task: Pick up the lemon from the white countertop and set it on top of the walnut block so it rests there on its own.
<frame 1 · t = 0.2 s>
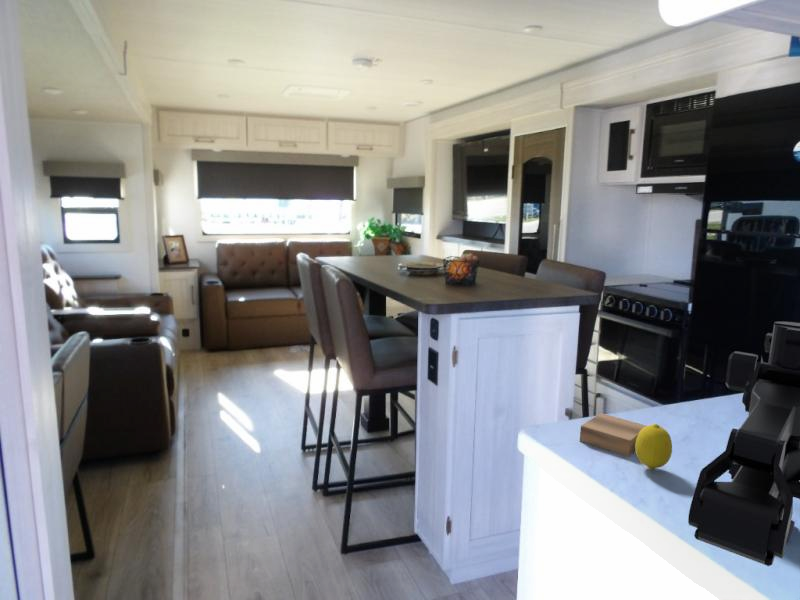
lemon: (650, 470, 93), on the kitchen counter
walnut block: (613, 441, 103), on the kitchen counter
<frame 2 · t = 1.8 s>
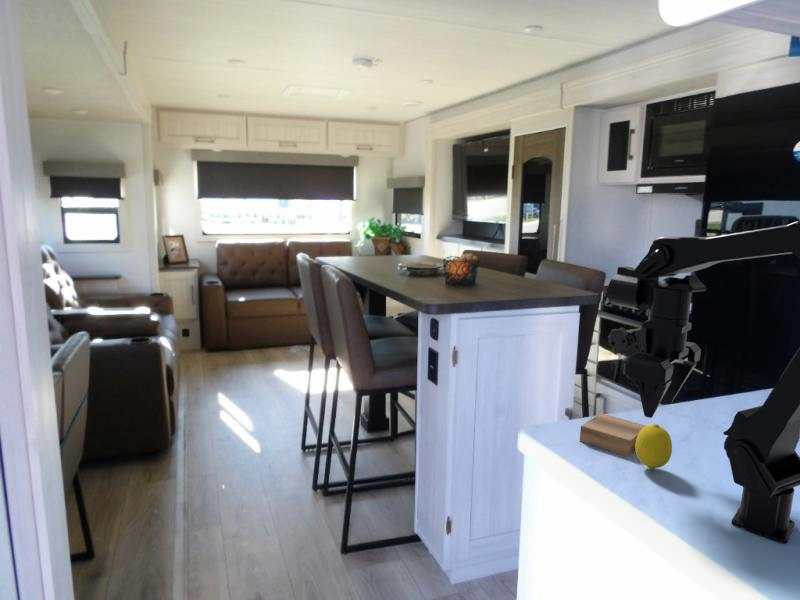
hand: (658, 409, 91), 11 cm above the kitchen counter, tool pointing down, fingers open, 9 cm apart
nothing on the kitchen counter moved.
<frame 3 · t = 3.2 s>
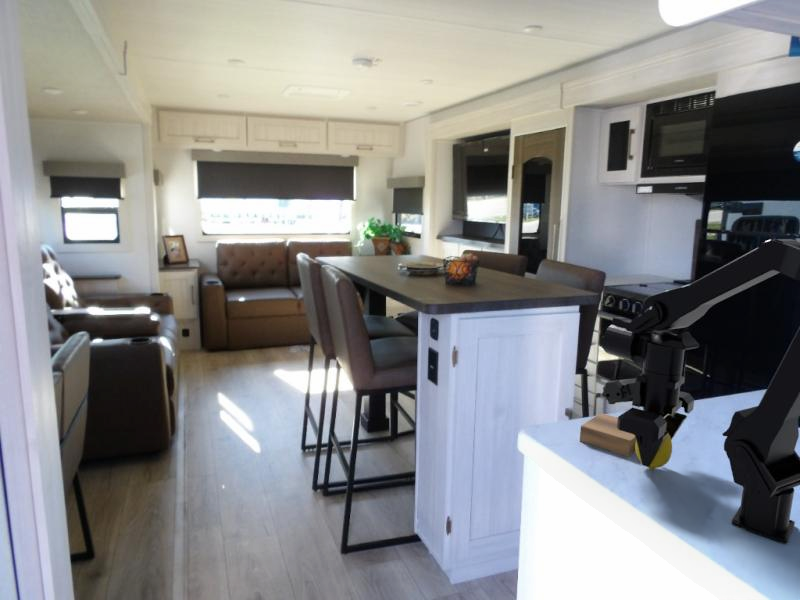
hand: (652, 460, 92), 2 cm above the kitchen counter, tool pointing down, fingers closed on lemon, 5 cm apart
lemon: (650, 470, 93), on the kitchen counter, touching gripper
when the fingers open (5 cm above the kitchen counter, at t = 6.8 s): lemon stays where it is, resting on walnut block.
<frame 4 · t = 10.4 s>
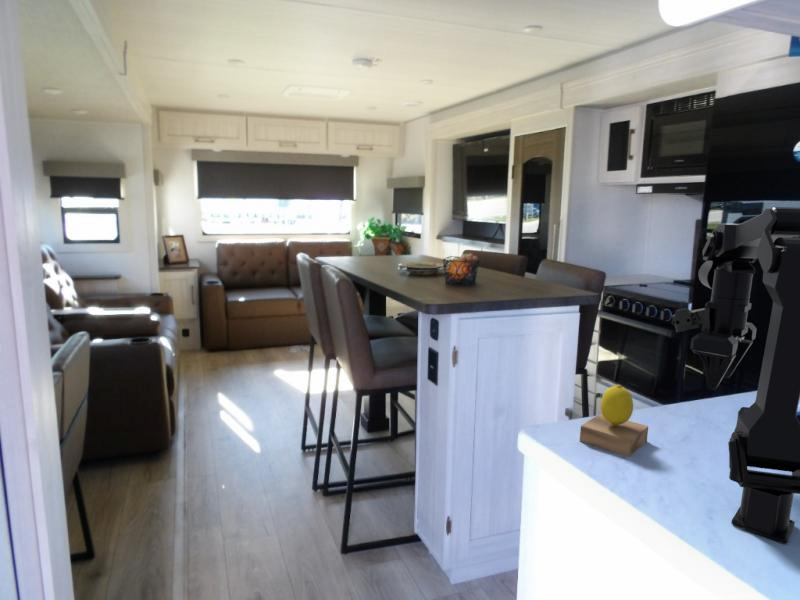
hand: (718, 383, 99), 12 cm above the kitchen counter, tool pointing down, fingers open, 9 cm apart
lemon: (614, 427, 103), point 3 cm above the kitchen counter, touching walnut block
at the end: lemon 0.1 cm from the walnut block (horizontally); lemon point 2.8 cm above the kitchen counter; lemon touching walnut block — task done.
